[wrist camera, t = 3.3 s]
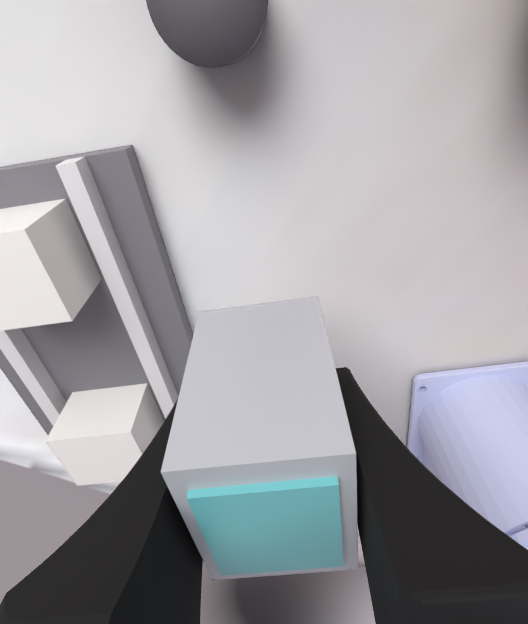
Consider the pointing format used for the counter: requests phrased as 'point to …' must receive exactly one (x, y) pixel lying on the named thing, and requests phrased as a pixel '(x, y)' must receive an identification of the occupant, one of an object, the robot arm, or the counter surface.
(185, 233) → the counter surface
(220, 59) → the knob
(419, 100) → the counter surface
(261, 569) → the module
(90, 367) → the rail board
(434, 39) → the counter surface
